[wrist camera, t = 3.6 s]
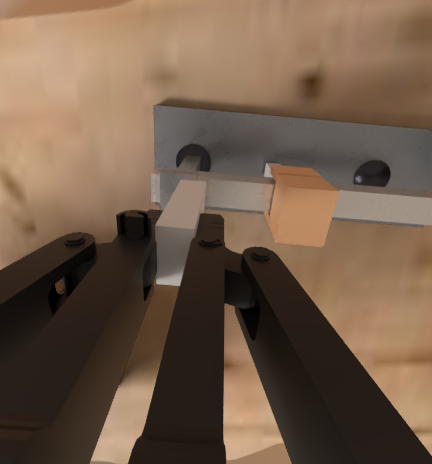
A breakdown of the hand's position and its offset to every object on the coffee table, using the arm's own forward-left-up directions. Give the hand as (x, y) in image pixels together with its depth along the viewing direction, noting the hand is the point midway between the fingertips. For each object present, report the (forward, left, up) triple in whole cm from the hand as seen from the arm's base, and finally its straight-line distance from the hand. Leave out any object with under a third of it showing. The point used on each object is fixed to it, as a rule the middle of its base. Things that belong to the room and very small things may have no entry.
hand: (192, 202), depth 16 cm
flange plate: (+10, 0, -14) cm, 17 cm away
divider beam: (+10, 0, -12) cm, 16 cm away
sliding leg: (+7, 0, -12) cm, 14 cm away
